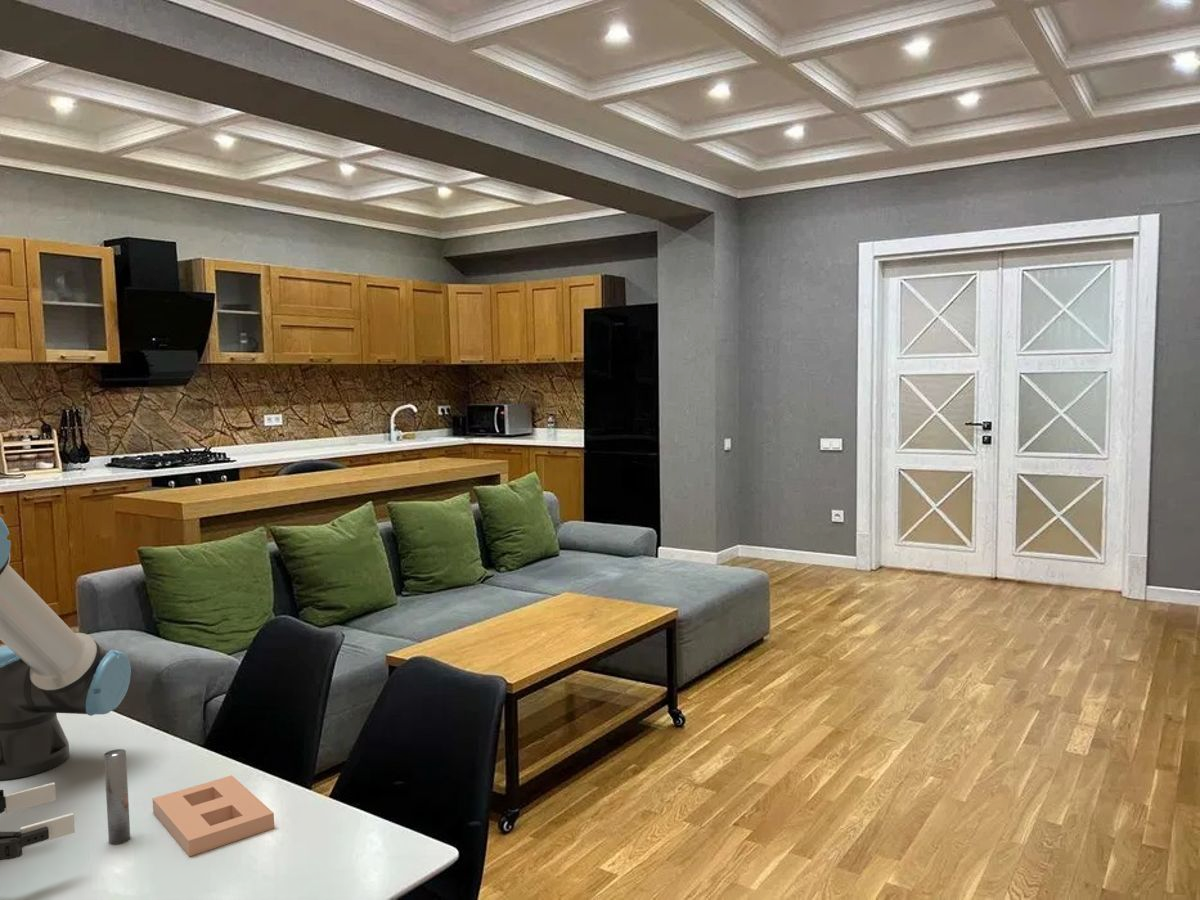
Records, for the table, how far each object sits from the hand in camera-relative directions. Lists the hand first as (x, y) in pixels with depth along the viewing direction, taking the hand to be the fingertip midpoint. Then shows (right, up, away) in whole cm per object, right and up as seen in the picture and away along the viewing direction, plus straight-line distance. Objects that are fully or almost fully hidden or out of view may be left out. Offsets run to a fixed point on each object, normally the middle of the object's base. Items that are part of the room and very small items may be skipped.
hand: (64, 806), depth 136 cm
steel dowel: (+5, -7, +6) cm, 11 cm away
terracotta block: (+17, -7, +12) cm, 22 cm away
